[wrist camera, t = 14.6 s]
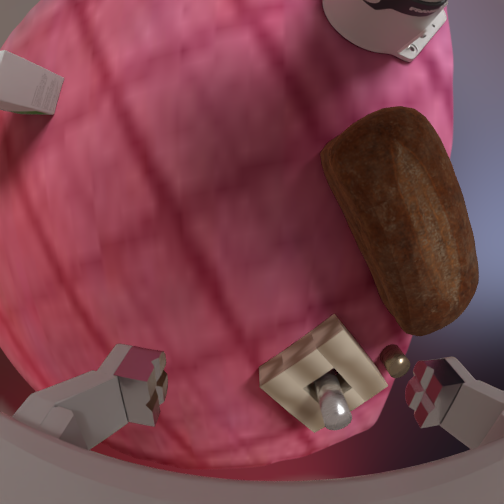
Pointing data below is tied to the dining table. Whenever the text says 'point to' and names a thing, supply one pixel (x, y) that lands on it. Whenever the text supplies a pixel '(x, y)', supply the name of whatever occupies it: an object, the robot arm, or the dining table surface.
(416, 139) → the bread
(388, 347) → the short bronze pin
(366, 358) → the birch block
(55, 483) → the robot arm
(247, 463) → the dining table surface
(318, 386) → the tall steel pin
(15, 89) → the skincare box
